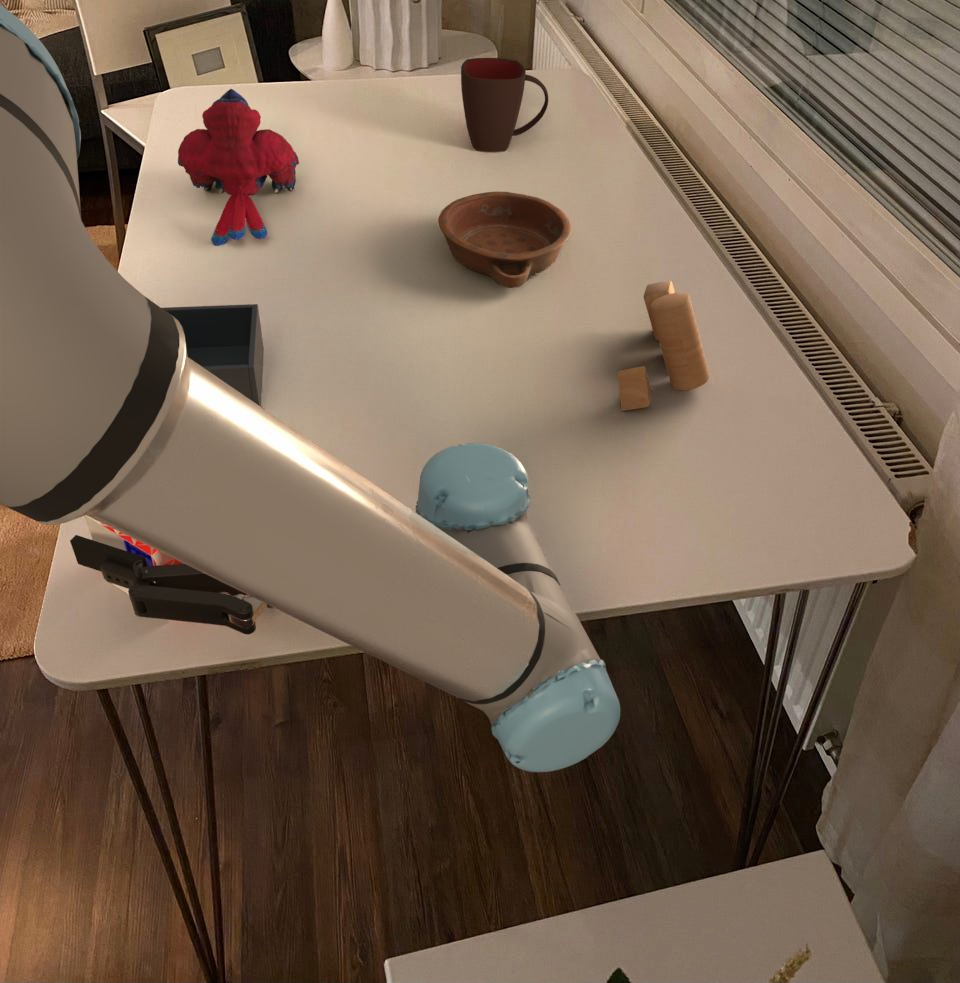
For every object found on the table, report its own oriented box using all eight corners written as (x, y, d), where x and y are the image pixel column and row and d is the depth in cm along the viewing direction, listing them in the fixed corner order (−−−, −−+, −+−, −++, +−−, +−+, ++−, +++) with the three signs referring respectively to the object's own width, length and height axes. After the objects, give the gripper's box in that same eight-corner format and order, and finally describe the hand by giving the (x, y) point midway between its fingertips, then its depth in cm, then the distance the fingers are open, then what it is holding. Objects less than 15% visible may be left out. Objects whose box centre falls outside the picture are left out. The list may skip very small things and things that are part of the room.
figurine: (300, 104, 140) (288, 83, 123) (307, 246, 145) (296, 245, 127) (190, 103, 139) (162, 81, 121) (200, 247, 143) (175, 245, 126)
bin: (141, 420, 101) (129, 372, 97) (154, 353, 110) (144, 308, 106) (260, 413, 102) (253, 367, 98) (263, 349, 111) (257, 303, 107)
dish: (439, 297, 121) (440, 262, 118) (436, 216, 137) (436, 182, 134) (577, 298, 122) (582, 263, 119) (557, 217, 138) (561, 184, 135)
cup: (458, 132, 160) (460, 56, 152) (541, 134, 161) (547, 58, 152) (460, 157, 152) (462, 79, 144) (547, 159, 153) (554, 81, 145)
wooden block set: (647, 343, 119) (626, 268, 114) (717, 330, 116) (699, 252, 111) (625, 424, 106) (600, 343, 101) (704, 412, 102) (682, 328, 97)
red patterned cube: (236, 565, 86) (224, 500, 81) (169, 621, 81) (151, 556, 76) (173, 528, 89) (157, 463, 84) (105, 579, 84) (83, 514, 79)
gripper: (290, 721, 72) (40, 632, 77) (409, 528, 87) (193, 465, 93) (281, 658, 67) (13, 567, 72) (408, 465, 82) (180, 402, 87)
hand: (114, 510), depth 82 cm, fingers closed on red patterned cube, 9 cm apart
